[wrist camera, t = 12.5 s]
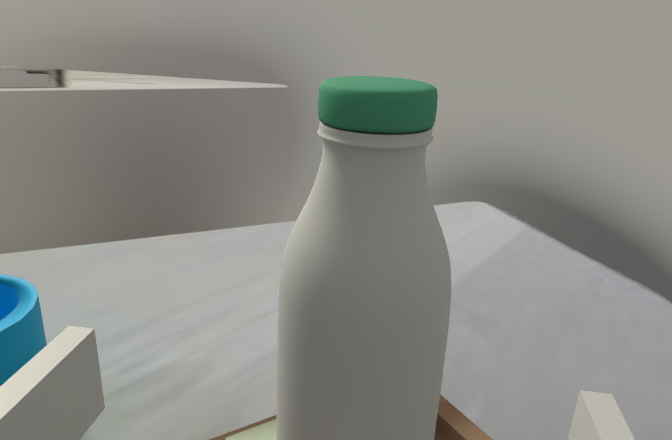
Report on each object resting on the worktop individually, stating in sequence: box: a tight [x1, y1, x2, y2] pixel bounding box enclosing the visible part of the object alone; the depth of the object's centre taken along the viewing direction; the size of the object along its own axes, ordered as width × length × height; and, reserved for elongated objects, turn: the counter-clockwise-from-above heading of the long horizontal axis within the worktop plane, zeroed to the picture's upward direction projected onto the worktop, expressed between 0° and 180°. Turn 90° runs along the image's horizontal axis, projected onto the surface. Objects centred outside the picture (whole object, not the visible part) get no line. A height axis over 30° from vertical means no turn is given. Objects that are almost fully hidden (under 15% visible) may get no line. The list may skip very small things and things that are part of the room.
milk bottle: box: [276, 76, 451, 440], centre depth 25 cm, size 8×8×20 cm
